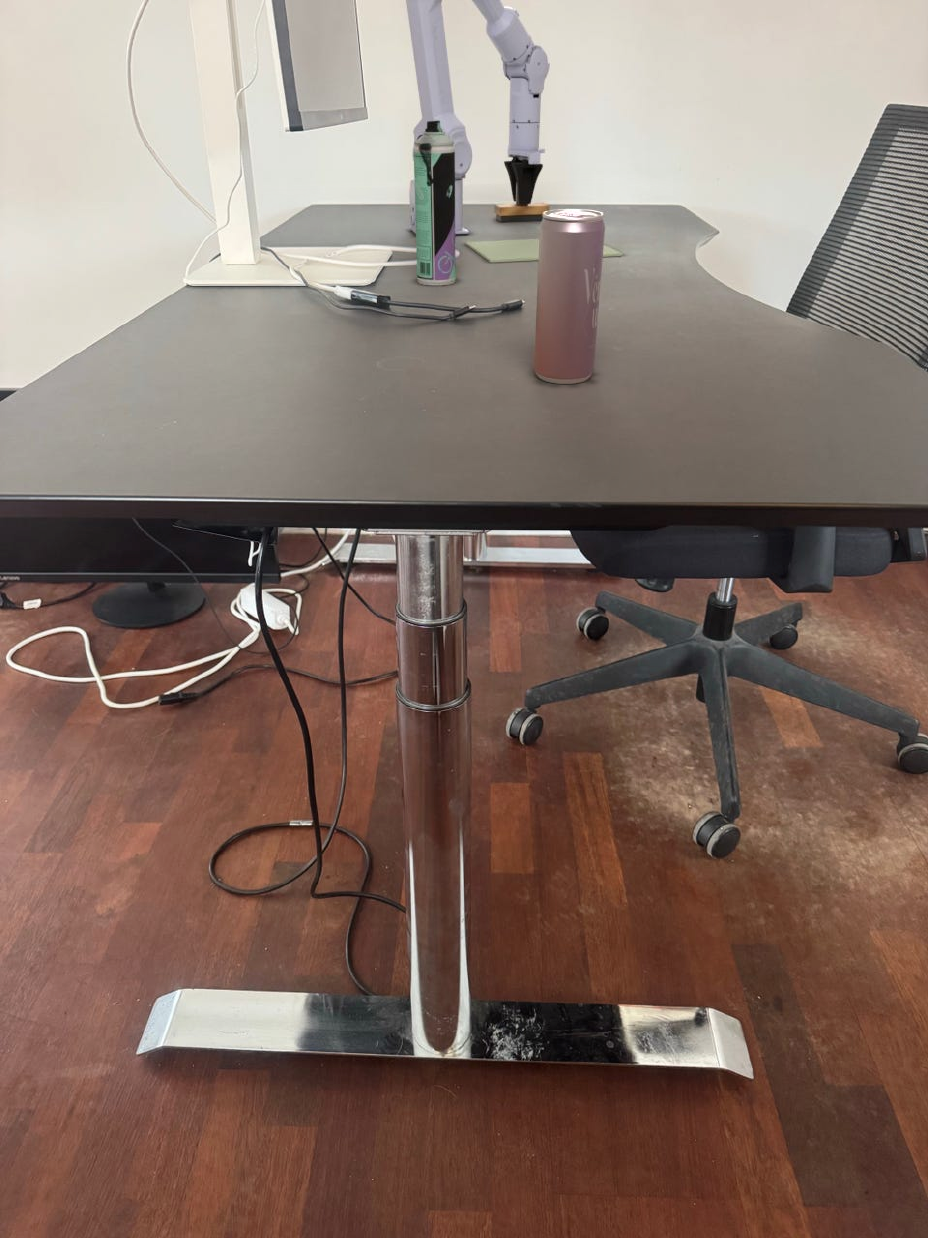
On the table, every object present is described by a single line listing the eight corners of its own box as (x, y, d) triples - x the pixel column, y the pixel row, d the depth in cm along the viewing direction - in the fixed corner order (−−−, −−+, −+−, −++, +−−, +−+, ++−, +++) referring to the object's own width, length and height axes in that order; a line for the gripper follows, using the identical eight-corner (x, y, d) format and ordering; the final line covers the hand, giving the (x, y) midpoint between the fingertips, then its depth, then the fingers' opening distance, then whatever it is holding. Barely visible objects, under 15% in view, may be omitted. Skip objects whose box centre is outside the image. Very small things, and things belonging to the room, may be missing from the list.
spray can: (455, 285, 122) (453, 121, 111) (416, 285, 122) (411, 121, 111) (456, 277, 127) (455, 118, 116) (418, 277, 127) (414, 119, 116)
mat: (490, 262, 136) (490, 259, 135) (465, 244, 149) (465, 241, 149) (622, 255, 140) (622, 253, 140) (586, 238, 153) (587, 236, 153)
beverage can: (555, 363, 91) (564, 206, 83) (604, 374, 88) (618, 212, 80) (521, 377, 87) (527, 213, 79) (571, 389, 84) (583, 220, 76)
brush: (499, 222, 168) (500, 183, 165) (494, 219, 172) (494, 181, 168) (548, 220, 170) (550, 182, 167) (542, 217, 174) (544, 179, 170)
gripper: (557, 124, 157) (553, 206, 164) (533, 119, 169) (530, 196, 176) (520, 124, 155) (517, 208, 163) (498, 119, 167) (496, 197, 175)
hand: (522, 202), depth 169 cm, fingers open, 3 cm apart
